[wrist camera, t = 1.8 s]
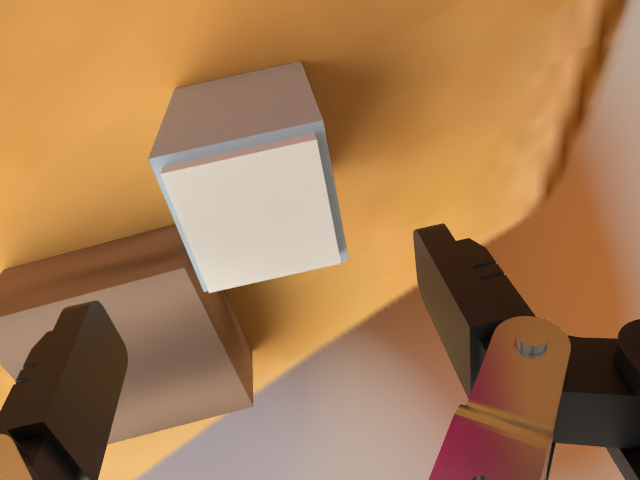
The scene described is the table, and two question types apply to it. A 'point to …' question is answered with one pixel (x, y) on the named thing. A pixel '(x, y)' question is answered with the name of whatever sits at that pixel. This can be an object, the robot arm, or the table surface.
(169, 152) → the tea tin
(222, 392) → the walnut block
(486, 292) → the robot arm
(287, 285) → the table surface
